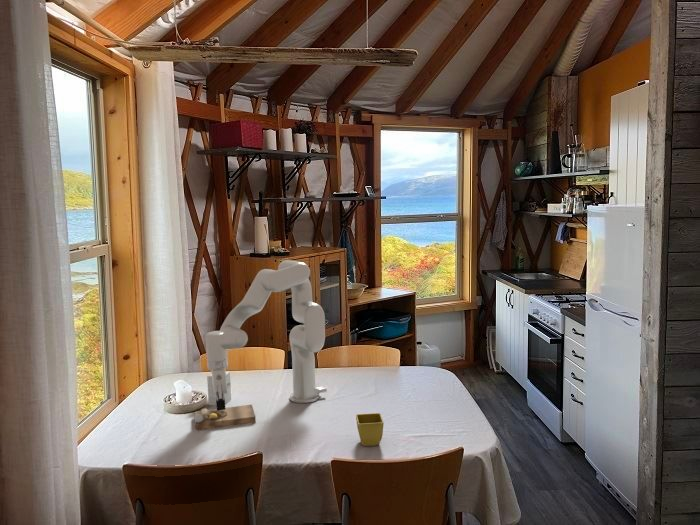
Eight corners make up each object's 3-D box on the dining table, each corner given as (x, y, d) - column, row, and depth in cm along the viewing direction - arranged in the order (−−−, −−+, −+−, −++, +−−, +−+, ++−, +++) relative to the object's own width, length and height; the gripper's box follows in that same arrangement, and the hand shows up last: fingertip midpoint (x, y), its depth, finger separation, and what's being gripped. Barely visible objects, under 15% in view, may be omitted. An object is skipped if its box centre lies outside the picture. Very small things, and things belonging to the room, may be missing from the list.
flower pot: (356, 438, 192) (355, 413, 191) (380, 436, 192) (380, 412, 191) (358, 449, 183) (358, 424, 182) (384, 448, 184) (383, 422, 183)
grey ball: (203, 420, 204) (202, 412, 204) (203, 423, 201) (202, 415, 201) (194, 421, 203) (193, 413, 203) (194, 424, 200) (194, 416, 200)
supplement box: (224, 406, 225) (223, 376, 223) (208, 405, 226) (206, 376, 225) (231, 399, 232) (230, 371, 230) (215, 398, 233) (214, 370, 232)
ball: (218, 422, 209) (218, 414, 211) (216, 418, 207) (216, 410, 209) (210, 423, 209) (210, 416, 211) (207, 420, 207) (208, 412, 209)
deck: (252, 410, 219) (251, 399, 219) (255, 422, 207) (255, 411, 206) (195, 417, 213) (195, 406, 213) (195, 430, 201) (195, 419, 200)
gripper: (228, 368, 201) (232, 415, 203) (226, 356, 215) (229, 401, 218) (208, 370, 199) (211, 418, 201) (206, 359, 213) (210, 403, 216)
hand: (221, 409), depth 209 cm, fingers closed
